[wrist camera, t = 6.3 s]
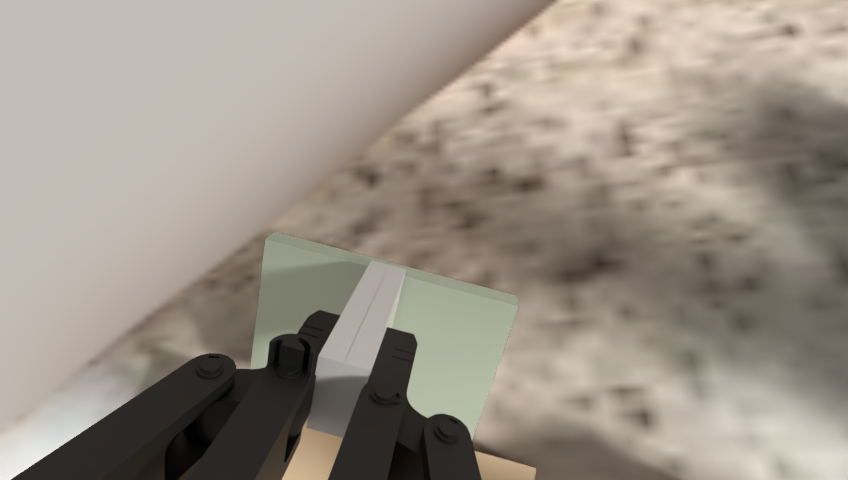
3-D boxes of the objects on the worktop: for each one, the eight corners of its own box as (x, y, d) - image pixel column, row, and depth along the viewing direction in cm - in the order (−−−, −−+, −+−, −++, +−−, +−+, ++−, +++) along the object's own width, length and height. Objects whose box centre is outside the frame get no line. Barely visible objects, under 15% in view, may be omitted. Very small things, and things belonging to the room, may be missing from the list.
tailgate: (470, 444, 22) (519, 306, 19) (248, 383, 22) (265, 239, 19) (471, 420, 23) (516, 289, 20) (263, 363, 23) (280, 227, 21)
